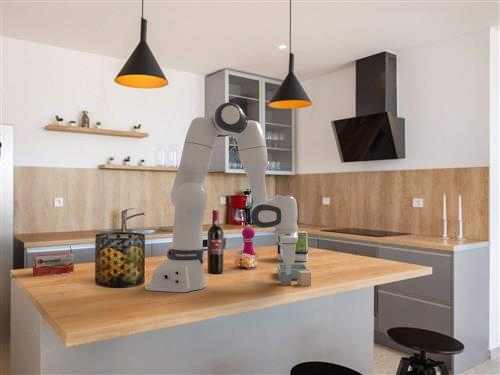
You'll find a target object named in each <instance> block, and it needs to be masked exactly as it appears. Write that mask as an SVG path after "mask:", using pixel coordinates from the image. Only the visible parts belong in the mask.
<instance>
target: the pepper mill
mask: <svg viewBox="0 0 500 375" xmlns="http://www.w3.org/2000/svg"><path fill="white" fill-rule="evenodd" d="M255 234H256V233H255V230H254V229H253V228H252V227H251V225H250V224H247V225H246V227H245V228H244V229H242V232H241V235H242V237H243V238H242V239H243V240H242V242H243V250H242V251H241V253H242V252H243V253H247V254H250V255H256V252H255V250H254V247H253V243H254V237H255Z"/></svg>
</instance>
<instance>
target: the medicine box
mask: <svg viewBox="0 0 500 375" xmlns="http://www.w3.org/2000/svg"><path fill="white" fill-rule="evenodd" d="M74 269H75V256H74V254H72V253H71V252H60V253H57V252H56V253H47V254H45V253H44V254H34V255H33V256H32V274H34V276H35V277H36V276H37V277H43V276H45V275H46V276H55V275H54V274H56V275H63V274H62V273H66V274H71V273H70V272H73V273H74ZM46 276H45V277H46Z"/></svg>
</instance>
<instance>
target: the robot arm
mask: <svg viewBox="0 0 500 375" xmlns="http://www.w3.org/2000/svg"><path fill="white" fill-rule="evenodd" d="M229 136H232V137H233V138H234V139H235V142H236V143H237V150H238V157H239V160H240V163H241V166H242V168H243V170H244V172H245V174H246V176H247V179H248V181H249V186H250V192H251V197H252V198H251V199H252V205H251V209H250V212H249V214H250V215H249V216H250V220H251V221H252V223H253V224H254V226H256V227H257V228H260V229H268V228H271V227H274V237H275V238H274V239H275V241H276V242H277V243H278V242H279V245H280V254H281V257H282V259H283V260H282V261H283V263H282V264H284V269H285V270H286V274H287V275H290V274H291V264H295V261H294V260H295V247H296V244H295V243H297V240H298V231H299V227H298V217H299V216H298V214H299V213H298V204H297V200H296V198H295V197H293V195H289V194H285V193H284V194H282V193H278V194H276V195H275V196H274V197H272V198H270V199H269V197H268V193H267V186H266V173H267V172H266V171H267V168H268V158H269V157H268V148H267V143H266V139H265V135H264V132H263V128H262V126H261V125H260V123H258V121H255V120H249V117H248V116H247V115H246V114H245V112H244V111H243V109H242V108H241V107H240V106H239V105H238V104H237V103H235V102H230V101H228V102H223V103H222V104H220V105H219V106H217V108H216V109H215V110H214V112H213V113H212V115H211V116H210V117H204V116H198V117H195V118H194V119H192V120H191V122H190V125H189V127H188V130H187V133H186V134H185V138H184V139H185V140H184V144H183V147H182V151H181V157H180V161H179V165H178V168H177V172H176V174H175V177H174V180H173V185H172V188H171V192H170V201H171V203H172V205H173V206H174V207H175V208H174V218H173V225H172V247H170V248H169V249H168V250H167V251H166V256H167V259H166V260H164V261H163V262H161V263H160V264H159V265H158V266H157V267H156V268H154V270H153V271H152V275H151V278H150V281H148V282H146V283H145V285H144V290H145V291H153V292H169V293H170V292H171V293H187V292H191V291H197V290H201V289H205V288H206V287H207V286H208V284H207V281H206V277H205V271H204V262H205V251H204V249H205V248H203V242H204V241H203V240H204V239H203V238H204V236H203V232H204V230H203V229H204V221H205V214H206V204H207V199H208V194H207V191H206V189H205V188H204V182H205V180H206V176H208V172H209V170H210V166H211V160H212V156H213V153H214V152H213V151H214V148H215V141H216V140H217V138H219V137H221V138H222V137H224V138H225V137H229Z"/></svg>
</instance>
